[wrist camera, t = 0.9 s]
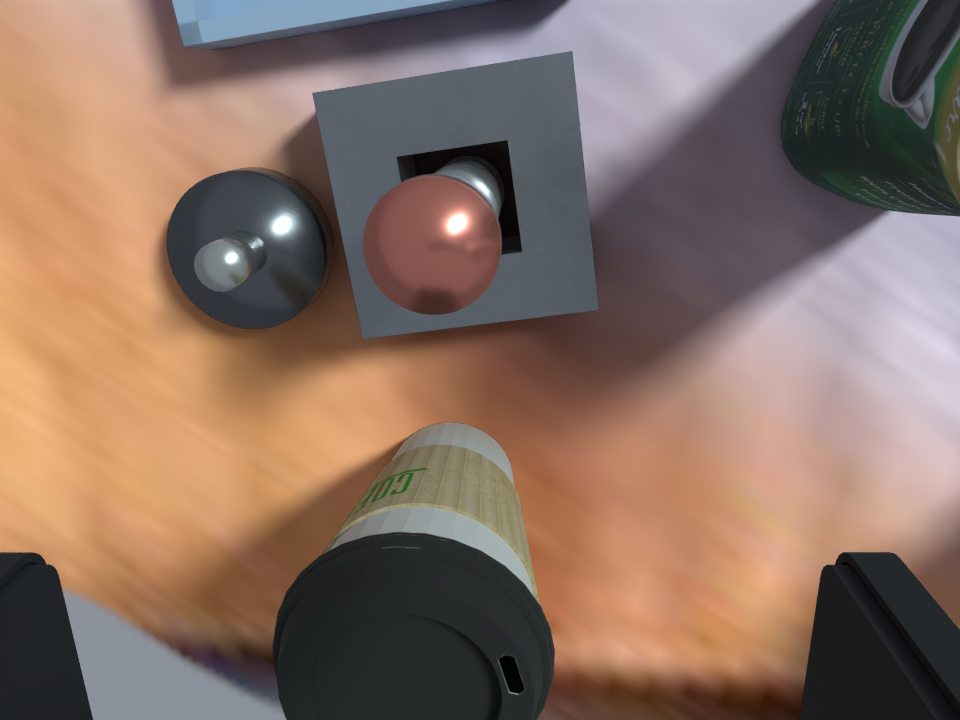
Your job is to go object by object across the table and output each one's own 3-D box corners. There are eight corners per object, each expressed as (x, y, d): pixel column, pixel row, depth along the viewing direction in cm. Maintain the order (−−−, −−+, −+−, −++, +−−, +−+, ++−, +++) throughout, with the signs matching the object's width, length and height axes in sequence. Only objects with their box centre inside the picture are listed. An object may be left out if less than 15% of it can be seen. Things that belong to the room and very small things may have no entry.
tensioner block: (568, 55, 33) (572, 51, 29) (592, 286, 36) (598, 310, 32) (337, 92, 34) (312, 93, 30) (380, 313, 37) (362, 339, 33)
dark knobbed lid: (316, 156, 35) (281, 166, 30) (347, 307, 37) (320, 339, 32) (168, 179, 35) (111, 192, 31) (207, 325, 38) (160, 358, 33)
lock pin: (506, 140, 34) (490, 167, 22) (518, 230, 35) (509, 306, 23) (416, 153, 34) (350, 188, 22) (432, 242, 36) (377, 322, 23)
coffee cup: (329, 414, 39) (210, 600, 25) (520, 366, 37) (509, 535, 23) (391, 578, 42) (316, 828, 28) (570, 540, 40) (588, 784, 26)
